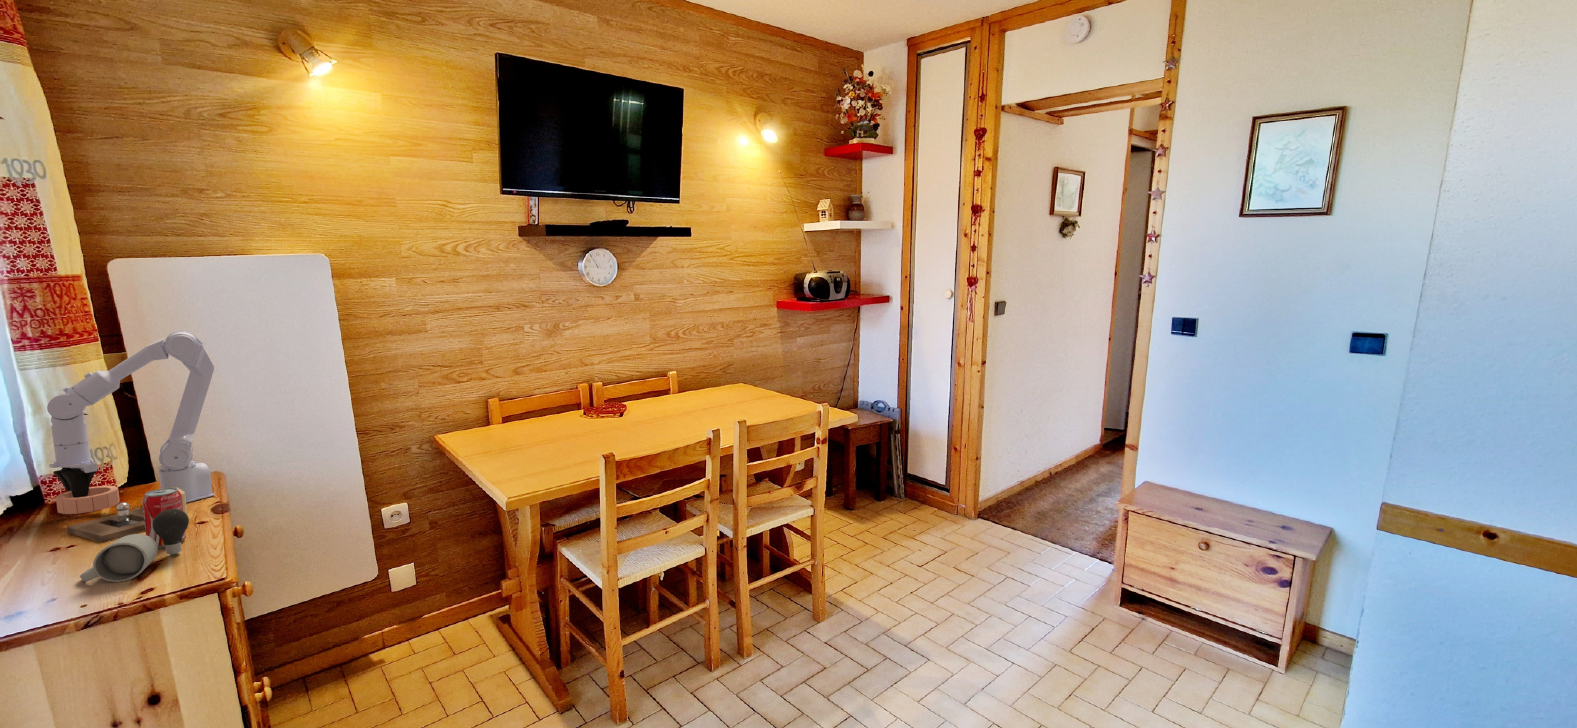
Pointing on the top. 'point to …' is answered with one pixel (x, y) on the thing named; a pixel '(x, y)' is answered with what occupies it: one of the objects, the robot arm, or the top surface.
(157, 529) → the light bulb
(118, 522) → the hook peg
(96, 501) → the coral ring
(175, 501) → the soda can
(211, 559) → the top surface
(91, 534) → the hook board
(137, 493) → the top surface
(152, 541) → the ceramic mug
